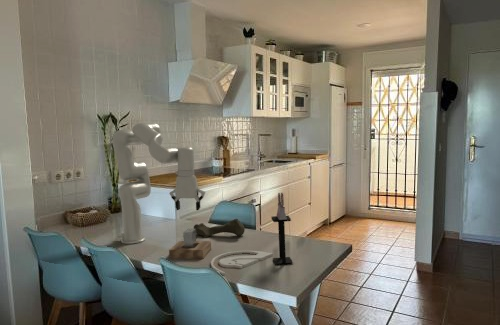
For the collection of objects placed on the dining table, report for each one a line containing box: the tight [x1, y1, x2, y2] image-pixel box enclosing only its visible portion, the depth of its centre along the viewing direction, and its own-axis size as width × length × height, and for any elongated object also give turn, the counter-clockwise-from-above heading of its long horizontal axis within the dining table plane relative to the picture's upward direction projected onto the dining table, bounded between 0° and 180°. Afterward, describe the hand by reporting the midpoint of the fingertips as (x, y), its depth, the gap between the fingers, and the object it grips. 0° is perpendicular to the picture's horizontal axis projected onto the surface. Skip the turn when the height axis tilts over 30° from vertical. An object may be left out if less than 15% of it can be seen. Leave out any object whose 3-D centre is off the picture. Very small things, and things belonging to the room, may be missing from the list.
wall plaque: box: [210, 250, 274, 276], centre depth 173 cm, size 19×2×30 cm
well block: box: [168, 240, 212, 260], centre depth 185 cm, size 16×14×4 cm
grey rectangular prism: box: [182, 228, 197, 248], centre depth 186 cm, size 4×7×10 cm, turn 171°
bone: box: [193, 218, 245, 238], centre depth 215 cm, size 10×10×30 cm
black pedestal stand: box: [271, 192, 294, 266], centre depth 167 cm, size 10×8×30 cm
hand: (188, 209), depth 186 cm, fingers open, 9 cm apart
